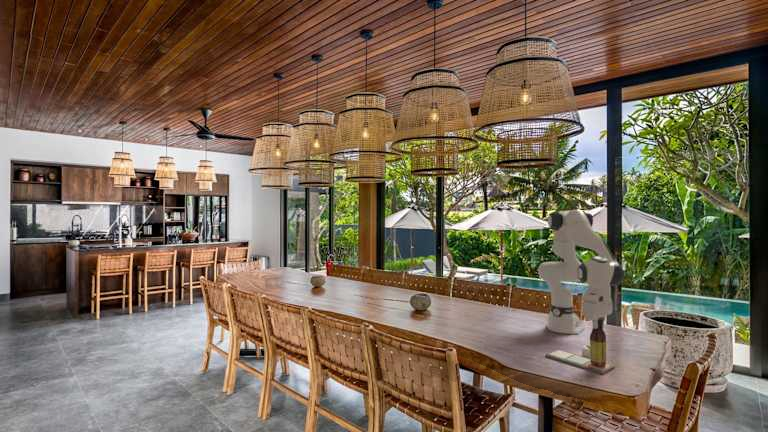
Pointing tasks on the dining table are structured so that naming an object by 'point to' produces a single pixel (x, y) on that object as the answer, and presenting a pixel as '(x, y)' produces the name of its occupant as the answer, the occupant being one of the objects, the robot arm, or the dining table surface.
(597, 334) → the sauce bottle
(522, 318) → the dining table surface
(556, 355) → the game strip
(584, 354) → the pale notched block
